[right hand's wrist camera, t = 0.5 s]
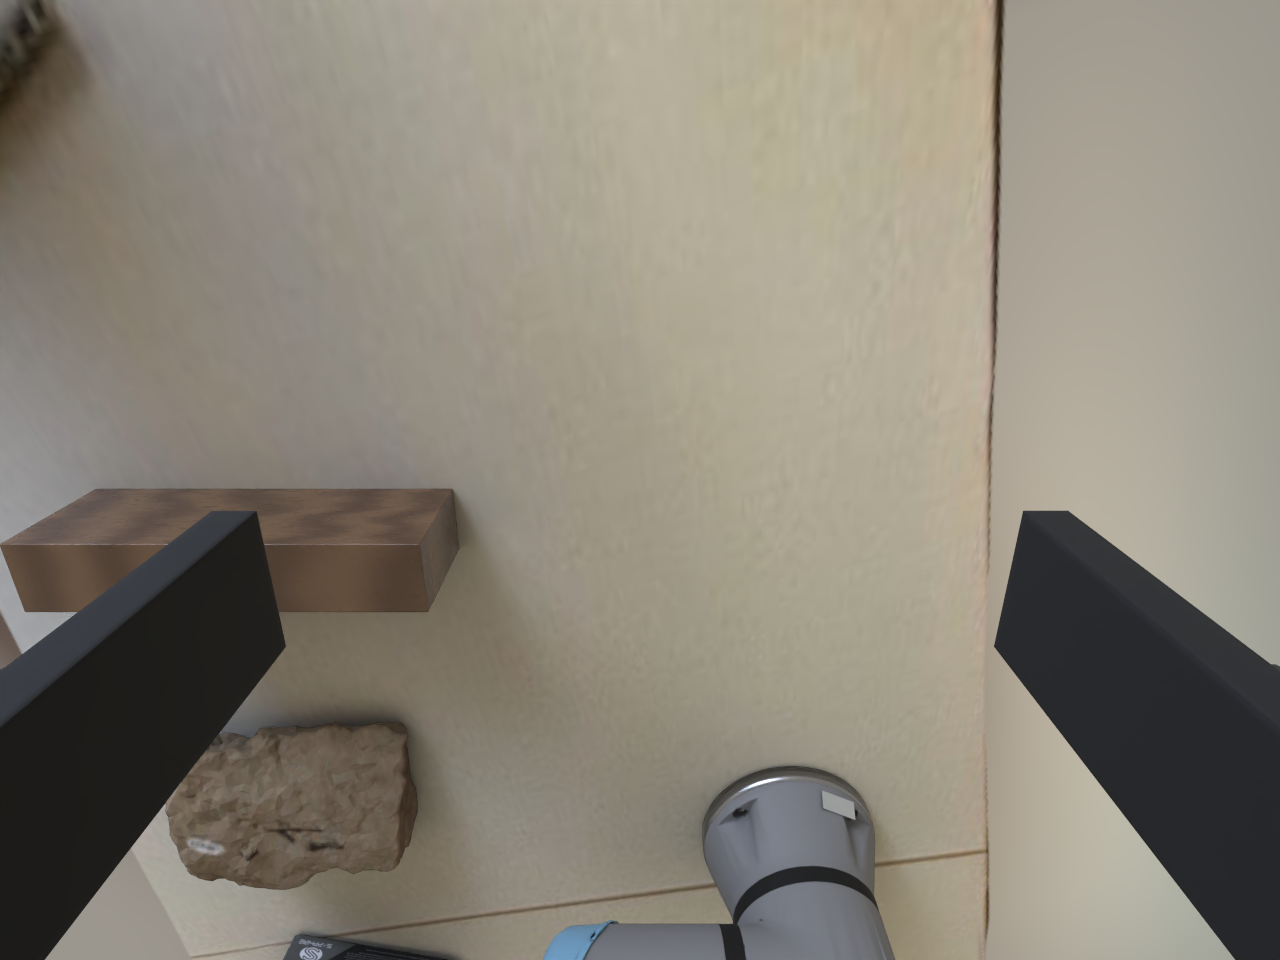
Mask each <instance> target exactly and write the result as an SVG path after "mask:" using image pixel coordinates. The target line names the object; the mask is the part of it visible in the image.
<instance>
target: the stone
mask: <svg viewBox="0 0 1280 960" xmlns="http://www.w3.org/2000/svg"><path fill="white" fill-rule="evenodd" d="M407 739H408V733H407V729H406V728H405V727H404V725H403V724H402V723H401V722H394V723H381V722H380V723H375V724H368V725H362V726H358V727H351V726H343V725H339V724H336V723H331V724H327V725H319V726H317V727H315V728H300V727H297V726H293V727H288V728H279V727H266V728H260V729H259V730H258V731H257V733H256V735H255V736H254V737H252V738H247V737H245V736H242V735H238V734H235V733H223V734H218V735H217V737H216V738H215V739H214V740H213V742H212V743H211V744H210V746H209V747H208V748H207V750H206V751H205V752H204V753H203V755H202V756H201V757H200V759H199V760H198V761H197V763H196V764H195V765H194V766H193V768H192V769H191V770H190V772H189V773H188V774H187V776H186V777H185V778H184V779H183V781H182V782H181V783H180V785H179V786H178V787H177V789H176V790H175V791H174V792H173V794H172V795H171V796H170V798H169V799H168V800H167V802H166V803H165V804H166V810H165V811H166V814H167V816H168V818H169V826H170V836H171V839H172V841H173V842H174V843H175V845H176V846H177V849H178V852H179V856H180V859H181V861H182V862H183V863H184V865H185V867H186V868H187V871H188V872H189V873H190V874H191V875H194V876H196V877H198V878H200V879H203V880H208V881H214V880H216V879H221V878H225V879H227V880H230V881H235V882H236V883H237V884H238V885H246V886H249V887H255V888H267V889H278V890H286V889H291V888H295V887H299V886H301V885H303V884H304V883H306V882H307V881H308V880H309V879H310V878H311V877H312V876H313V875H314V874H316V873H319V872H324V871H327V870H329V869H331V868H336V867H337V868H340V869H342V870H346V871H348V872H350V873H352V874H355V873H358V872H361V871H363V870H378V871H385V872H388V871H390V870H392V869H394V868H395V867H396V866H397V865H398V864H399V863H400V859H401V858H402V855H403V853H404V848H405V847H408V846H409V844H410V840H411V835H412V830H413V825H414V821H415V818H416V815H417V794H416V789H415V787H414V785H413V783H412V781H411V779H410V773H409V760H408V749H407V746H406V741H407Z"/></svg>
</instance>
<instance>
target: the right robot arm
mask: <svg viewBox="0 0 1280 960" xmlns="http://www.w3.org/2000/svg"><path fill="white" fill-rule="evenodd" d="M285 647H286V645H285V640H284V635H283V631H282V626H281V621H280V617H279V612H278V608H277V603H276V598H275V594H274V589H273V584H272V580H271V575H270V570H269V566H268V561H267V556H266V552H265V547H264V542H263V538H262V533H261V529H260V524H259V519H258V515H257V511H211V512H210V513H208V514H207V515H206V516H205V517H203V518H202V519H201V520H199V521H198V522H197V523H195V524H194V525H193V526H191V527H190V528H189V529H187V530H186V531H185V532H183V533H182V534H181V535H179V536H178V537H177V538H175V539H174V540H173V541H171V542H170V543H169V544H168V545H166V546H165V547H164V548H162V549H161V550H160V551H158V552H157V553H156V554H154V555H153V556H152V557H150V558H149V559H148V560H146V561H145V562H144V563H142V564H141V565H140V566H138V567H137V568H136V569H134V570H133V571H132V572H131V573H129V574H128V575H127V576H125V577H124V578H123V579H121V580H120V581H119V582H117V583H116V584H115V585H113V586H112V587H111V588H109V589H108V590H107V591H105V592H104V593H103V594H101V595H100V596H99V597H98V598H96V599H95V600H94V601H92V602H91V603H90V604H88V605H87V606H86V607H84V608H83V609H82V610H80V611H79V612H78V613H76V614H75V615H74V616H72V617H71V618H70V619H68V620H67V621H66V622H64V623H63V624H62V625H61V626H59V627H58V628H57V629H55V630H54V631H53V632H51V633H50V634H49V635H47V636H46V637H45V638H43V639H42V640H41V641H39V642H38V643H37V644H35V645H34V646H33V647H31V648H30V649H29V650H27V651H26V652H25V653H24V654H22V655H21V656H20V657H18V658H17V659H16V660H14V661H13V662H12V663H10V664H9V665H8V666H6V667H5V668H3V669H1V670H0V960H45V959H46V957H47V956H48V955H49V953H50V952H51V951H52V949H53V948H54V947H55V945H56V944H57V943H58V942H59V940H60V939H61V938H62V936H63V935H64V934H65V933H66V931H67V930H68V929H69V927H70V926H71V925H72V924H73V922H74V921H75V920H76V918H77V917H78V916H79V914H80V913H81V912H82V910H83V909H84V908H85V907H86V905H87V904H88V903H89V901H90V900H91V899H92V898H93V896H94V895H95V894H96V892H97V891H98V890H99V888H100V887H101V886H102V885H103V883H104V882H105V881H106V879H107V878H108V877H109V875H110V874H111V873H112V872H113V870H114V869H115V868H116V866H117V865H118V864H119V863H120V861H121V860H122V859H123V857H124V856H125V855H126V853H127V852H128V851H129V850H130V848H131V847H132V846H133V844H134V843H135V842H136V840H137V839H138V838H139V837H140V835H141V834H142V833H143V831H144V830H145V829H146V827H147V826H148V825H149V824H150V822H151V821H152V820H153V818H154V817H155V816H156V814H157V813H158V812H159V811H160V809H161V808H162V807H163V805H164V804H165V803H166V802H167V800H168V799H169V798H170V796H171V795H172V794H173V792H174V791H175V790H176V789H177V787H178V786H179V785H180V783H181V782H182V781H183V779H184V778H185V777H186V776H187V774H188V773H189V772H190V770H191V769H192V768H193V766H194V765H195V764H196V763H197V761H198V760H199V759H200V757H201V756H202V755H203V753H204V752H205V751H206V750H207V748H208V747H209V746H210V744H211V743H212V742H213V740H214V739H215V738H216V737H217V735H218V734H219V733H220V731H221V730H222V729H223V728H224V726H225V725H226V724H227V722H228V721H229V720H230V718H231V717H232V716H233V715H234V713H235V712H236V711H237V709H238V708H239V707H240V705H241V704H242V703H243V702H244V700H245V699H246V698H247V696H248V695H249V694H250V692H251V691H252V690H253V689H254V687H255V686H256V685H257V683H258V682H259V681H260V679H261V678H262V677H263V676H264V674H265V673H266V672H267V670H268V669H269V668H270V667H271V665H272V664H273V663H274V661H275V660H276V659H277V657H278V656H279V655H280V654H281V652H282V651H283V650H284V648H285ZM994 647H995V648H996V650H997V651H998V652H999V654H1000V655H1001V656H1002V657H1003V659H1004V660H1005V661H1006V663H1007V664H1008V665H1009V666H1010V668H1011V669H1012V670H1013V672H1014V673H1015V674H1016V676H1017V677H1018V678H1019V679H1020V681H1021V682H1022V683H1023V685H1024V686H1025V687H1026V689H1027V690H1028V691H1029V692H1030V694H1031V695H1032V696H1033V698H1034V699H1035V700H1036V702H1037V703H1038V704H1039V705H1040V707H1041V708H1042V709H1043V711H1044V712H1045V713H1046V715H1047V716H1048V717H1049V718H1050V720H1051V721H1052V722H1053V724H1054V725H1055V726H1056V728H1057V729H1058V730H1059V731H1060V733H1061V734H1062V735H1063V737H1064V738H1065V739H1066V740H1067V742H1068V743H1069V744H1070V746H1071V747H1072V748H1073V750H1074V751H1075V752H1076V753H1077V755H1078V756H1079V757H1080V759H1081V760H1082V761H1083V763H1084V764H1085V765H1086V766H1087V768H1088V769H1089V770H1090V772H1091V773H1092V774H1093V776H1094V777H1095V778H1096V779H1097V781H1098V782H1099V783H1100V785H1101V786H1102V787H1103V789H1104V790H1105V791H1106V792H1107V794H1108V795H1109V796H1110V798H1111V799H1112V800H1113V802H1114V803H1115V804H1116V805H1117V807H1118V808H1119V809H1120V811H1121V812H1122V813H1123V814H1124V816H1125V817H1126V818H1127V820H1128V821H1129V822H1130V824H1131V825H1132V826H1133V827H1134V829H1135V830H1136V831H1137V833H1138V834H1139V835H1140V837H1141V838H1142V839H1143V840H1144V842H1145V843H1146V844H1147V846H1148V847H1149V848H1150V849H1151V851H1152V852H1153V853H1154V855H1155V856H1156V857H1157V859H1158V860H1159V861H1160V863H1161V864H1162V865H1163V866H1164V868H1165V869H1166V870H1167V872H1168V873H1169V874H1170V875H1171V877H1172V878H1173V879H1174V881H1175V882H1176V883H1177V885H1178V886H1179V887H1180V888H1181V890H1182V891H1183V892H1184V894H1185V895H1186V896H1187V898H1188V899H1189V900H1190V901H1191V903H1192V904H1193V905H1194V907H1195V908H1196V909H1197V910H1198V912H1199V913H1200V914H1201V916H1202V917H1203V918H1204V920H1205V921H1206V922H1207V923H1208V925H1209V926H1210V927H1211V929H1212V930H1213V931H1214V933H1215V934H1216V935H1217V936H1218V938H1219V939H1220V940H1221V942H1222V943H1223V944H1224V946H1225V947H1226V948H1227V949H1228V951H1229V952H1230V953H1231V955H1232V956H1233V957H1234V959H1235V960H1280V666H1278V665H1271V664H1270V663H1268V662H1267V661H1266V660H1264V659H1263V658H1262V657H1260V656H1259V655H1258V654H1256V653H1255V652H1254V651H1253V650H1251V649H1250V648H1248V647H1247V646H1246V645H1245V644H1243V643H1242V642H1241V641H1239V640H1238V639H1237V638H1235V637H1234V636H1233V635H1231V634H1230V633H1229V632H1227V631H1226V630H1225V629H1223V628H1222V627H1221V626H1219V625H1218V624H1217V623H1216V622H1214V621H1213V620H1212V619H1210V618H1209V617H1208V616H1206V615H1205V614H1204V613H1202V612H1201V611H1200V610H1198V609H1197V608H1196V607H1194V606H1193V605H1192V604H1190V603H1189V602H1188V601H1186V600H1185V599H1184V598H1182V597H1181V596H1180V595H1178V594H1177V593H1176V592H1175V591H1173V590H1172V589H1171V588H1169V587H1168V586H1167V585H1165V584H1164V583H1163V582H1161V581H1160V580H1159V579H1157V578H1156V577H1155V576H1153V575H1152V574H1151V573H1149V572H1148V571H1147V570H1145V569H1144V568H1143V567H1141V566H1140V565H1139V564H1137V563H1136V562H1135V561H1134V560H1132V559H1131V558H1130V557H1128V556H1127V555H1126V554H1124V553H1123V552H1122V551H1120V550H1119V549H1118V548H1116V547H1115V546H1114V545H1112V544H1111V543H1110V542H1108V541H1107V540H1106V539H1105V538H1103V537H1102V536H1101V535H1099V534H1098V533H1097V532H1095V531H1094V530H1093V529H1091V528H1090V527H1089V526H1087V525H1086V524H1085V523H1083V522H1082V521H1081V520H1079V519H1078V518H1077V517H1075V516H1074V515H1073V514H1071V513H1070V512H1069V511H1023V515H1022V519H1021V524H1020V528H1019V533H1018V538H1017V543H1016V547H1015V552H1014V556H1013V561H1012V566H1011V570H1010V575H1009V580H1008V584H1007V589H1006V594H1005V598H1004V603H1003V608H1002V612H1001V617H1000V621H999V626H998V631H997V635H996V640H995V645H994ZM702 839H703V849H704V857H705V860H706V864H707V866H708V869H709V871H710V873H711V875H712V877H713V880H714V882H715V884H716V886H717V888H718V890H719V892H720V894H721V896H722V898H723V900H724V902H725V904H726V906H727V908H728V910H729V912H730V914H731V917H732V919H733V924H619V923H618V922H617V921H611V920H610V921H608V922H604V923H602V924H594V925H576V926H570V927H568V928H566V929H564V930H563V931H562V932H560V933H558V934H557V935H556V936H555V937H554V939H553V940H552V941H551V943H550V945H549V947H548V949H547V951H546V953H545V955H544V958H543V960H895V957H894V954H893V951H892V948H891V945H890V942H889V939H888V936H887V933H886V930H885V927H884V924H883V921H882V918H881V916H880V913H879V910H878V907H877V904H876V901H875V898H874V872H875V832H874V827H873V824H872V821H871V818H870V815H869V812H868V810H867V807H866V805H865V803H864V801H863V799H862V798H861V796H860V795H859V794H858V792H857V791H856V790H855V789H854V788H853V787H852V786H851V785H849V784H848V783H847V782H845V781H844V780H842V779H841V778H839V777H837V776H835V775H833V774H830V773H828V772H825V771H821V770H818V769H813V768H807V767H795V766H790V767H777V768H771V769H766V770H762V771H759V772H756V773H753V774H750V775H748V776H746V777H743V778H742V779H740V780H738V781H736V782H735V783H733V784H732V785H730V786H729V787H727V788H726V789H725V790H724V791H723V792H722V793H721V794H720V795H718V797H717V798H716V799H715V800H714V801H713V803H712V804H711V806H710V807H709V809H708V811H707V813H706V816H705V818H704V822H703V828H702Z"/></svg>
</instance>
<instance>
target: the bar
mask: <svg viewBox="0 0 1280 960" xmlns="http://www.w3.org/2000/svg"><path fill="white" fill-rule="evenodd" d="M211 511H257V515H258V519H259V524H260V529H261V533H262V538H263V542H264V547H265V552H266V556H267V561H268V566H269V570H270V575H271V580H272V584H273V589H274V594H275V598H276V603H277V608H278V612H428V611H429V609H430V607H431V605H432V603H433V601H434V599H435V597H436V595H437V593H438V591H439V589H440V587H441V585H442V583H443V581H444V579H445V576H446V574H447V572H448V570H449V568H450V566H451V564H452V562H453V560H454V558H455V556H456V554H457V552H458V550H459V543H458V534H457V524H456V515H455V506H454V496H453V489H95V490H94V491H92V492H90V493H88V494H87V495H85V496H83V497H81V498H80V499H78V500H76V501H74V502H73V503H71V504H69V505H67V506H66V507H64V508H62V509H60V510H59V511H57V512H55V513H53V514H52V515H50V516H48V517H46V518H45V519H43V520H41V521H39V522H38V523H36V524H34V525H32V526H31V527H29V528H27V529H25V530H24V531H22V532H20V533H18V534H17V535H15V536H13V537H12V538H10V539H8V540H6V541H5V542H3V543H1V544H0V547H1V549H2V552H3V555H4V557H5V560H6V563H7V565H8V568H9V571H10V573H11V576H12V579H13V581H14V584H15V586H16V589H17V592H18V594H19V597H20V600H21V602H22V605H23V608H24V610H25V612H79V611H80V610H82V609H83V608H84V607H86V606H87V605H88V604H90V603H91V602H92V601H94V600H95V599H96V598H98V597H99V596H100V595H101V594H103V593H104V592H105V591H107V590H108V589H109V588H111V587H112V586H113V585H115V584H116V583H117V582H119V581H120V580H121V579H123V578H124V577H125V576H127V575H128V574H129V573H131V572H132V571H133V570H134V569H136V568H137V567H138V566H140V565H141V564H142V563H144V562H145V561H146V560H148V559H149V558H150V557H152V556H153V555H154V554H156V553H157V552H158V551H160V550H161V549H162V548H164V547H165V546H166V545H168V544H169V543H170V542H171V541H173V540H174V539H175V538H177V537H178V536H179V535H181V534H182V533H183V532H185V531H186V530H187V529H189V528H190V527H191V526H193V525H194V524H195V523H197V522H198V521H199V520H201V519H202V518H203V517H205V516H206V515H207V514H208V513H210V512H211Z"/></svg>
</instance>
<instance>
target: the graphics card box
mask: <svg viewBox="0 0 1280 960" xmlns="http://www.w3.org/2000/svg"><path fill="white" fill-rule="evenodd" d="M283 960H446V959H441V958H434V957H429V956H423V955H418V954H411V953H405V952H400V951H395V950H390V949H383V948H376V947H370V946H365V945H359V944H355V943H348V942H342V941H336V940H331V939H326V938H320V937H312V936H307V935H296V936H295V937H294V939H293V941H292V943H291V945H290V947H289V949H288V951H287V953H286V955H285V957H284V959H283Z"/></svg>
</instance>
